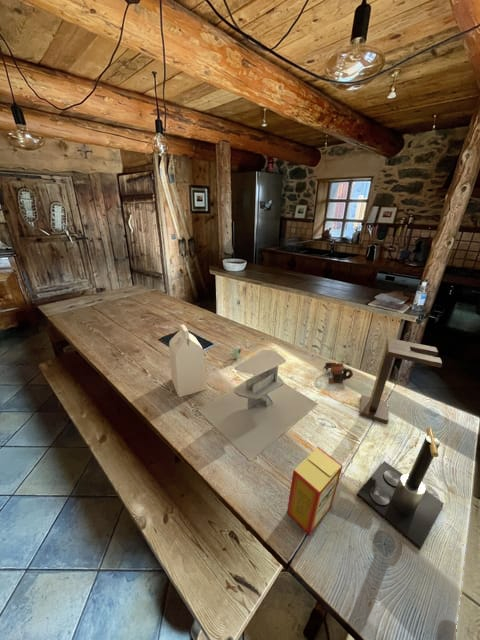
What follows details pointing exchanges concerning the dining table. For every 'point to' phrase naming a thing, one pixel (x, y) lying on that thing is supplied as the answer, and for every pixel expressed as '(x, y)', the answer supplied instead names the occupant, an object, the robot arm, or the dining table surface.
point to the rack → (397, 349)
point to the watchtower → (257, 406)
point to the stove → (380, 500)
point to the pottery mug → (338, 372)
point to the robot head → (236, 352)
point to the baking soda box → (313, 489)
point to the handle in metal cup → (415, 477)
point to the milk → (187, 363)
